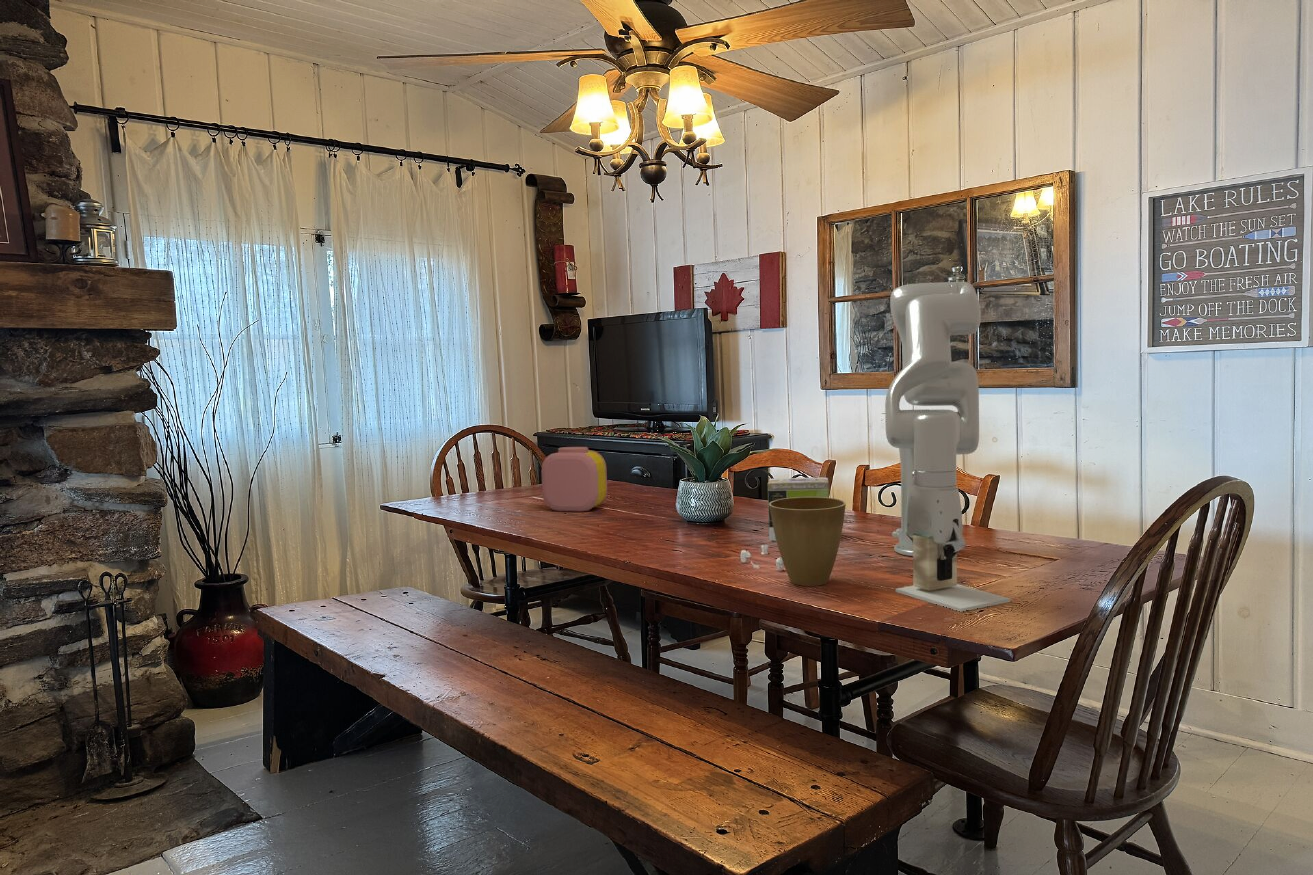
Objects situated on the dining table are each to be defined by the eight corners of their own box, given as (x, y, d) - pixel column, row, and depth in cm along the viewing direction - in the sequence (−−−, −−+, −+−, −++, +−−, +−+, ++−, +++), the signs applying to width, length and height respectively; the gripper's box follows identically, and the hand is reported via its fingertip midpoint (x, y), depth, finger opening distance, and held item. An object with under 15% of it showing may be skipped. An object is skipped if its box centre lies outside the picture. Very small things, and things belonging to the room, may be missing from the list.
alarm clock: (609, 507, 273) (607, 446, 271) (597, 512, 262) (595, 449, 261) (554, 506, 278) (552, 446, 277) (540, 511, 268) (538, 449, 266)
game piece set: (811, 576, 178) (810, 558, 177) (723, 567, 188) (723, 550, 188) (843, 557, 194) (842, 541, 194) (761, 550, 205) (761, 534, 204)
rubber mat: (895, 591, 163) (895, 588, 163) (943, 583, 168) (943, 580, 168) (960, 612, 148) (960, 608, 148) (1010, 601, 154) (1010, 598, 154)
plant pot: (781, 571, 182) (779, 495, 180) (852, 575, 176) (851, 497, 175) (761, 588, 168) (760, 506, 167) (838, 594, 162) (837, 509, 161)
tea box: (829, 534, 220) (829, 476, 219) (830, 542, 210) (830, 481, 209) (770, 533, 222) (769, 476, 221) (768, 541, 213) (767, 482, 211)
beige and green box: (913, 585, 162) (913, 533, 161) (941, 580, 165) (941, 529, 164) (928, 590, 158) (928, 536, 158) (957, 585, 162) (957, 532, 161)
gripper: (888, 476, 166) (888, 570, 167) (954, 486, 151) (954, 589, 153) (917, 473, 169) (918, 565, 171) (985, 482, 154) (985, 583, 156)
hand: (935, 575), depth 162 cm, fingers closed on beige and green box, 4 cm apart
